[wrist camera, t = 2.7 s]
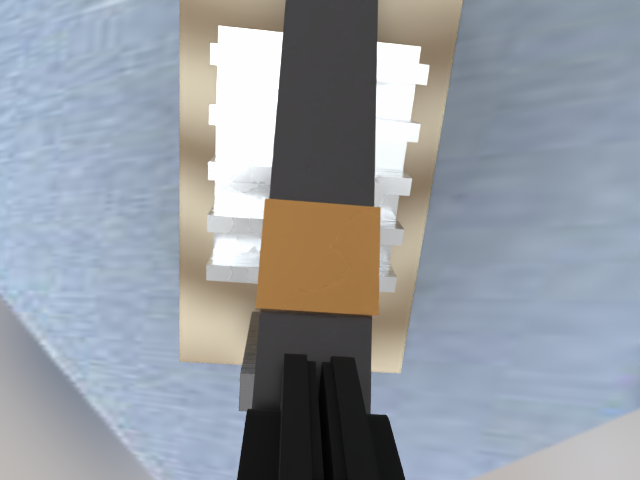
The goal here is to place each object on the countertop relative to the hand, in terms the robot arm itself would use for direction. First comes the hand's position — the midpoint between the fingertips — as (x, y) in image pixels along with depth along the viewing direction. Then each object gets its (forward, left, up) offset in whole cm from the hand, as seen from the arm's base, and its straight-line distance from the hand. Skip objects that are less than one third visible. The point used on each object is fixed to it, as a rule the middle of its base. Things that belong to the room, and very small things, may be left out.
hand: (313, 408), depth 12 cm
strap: (-6, 0, -6) cm, 9 cm away
